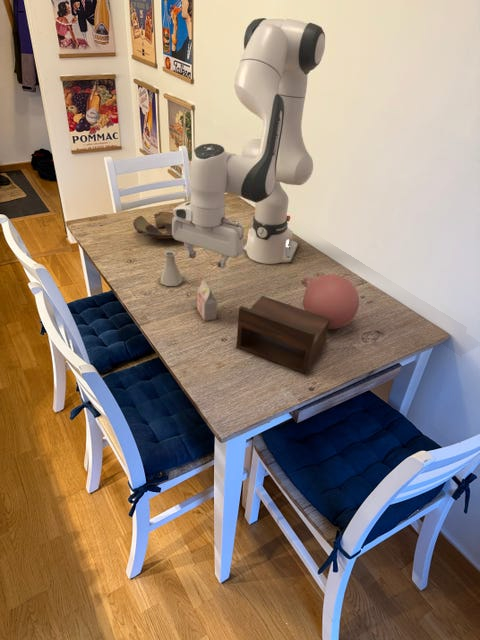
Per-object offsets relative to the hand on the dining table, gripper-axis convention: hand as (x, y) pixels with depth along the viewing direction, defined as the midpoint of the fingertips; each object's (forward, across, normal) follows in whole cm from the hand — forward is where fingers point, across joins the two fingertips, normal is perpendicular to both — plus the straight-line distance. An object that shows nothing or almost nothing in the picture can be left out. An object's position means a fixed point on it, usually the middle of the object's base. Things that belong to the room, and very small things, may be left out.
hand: (206, 262), depth 118 cm
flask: (+17, +19, -9) cm, 27 cm away
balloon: (+17, -30, -16) cm, 38 cm away
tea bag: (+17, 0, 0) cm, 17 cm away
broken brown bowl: (+17, +40, -38) cm, 58 cm away
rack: (+17, -25, +2) cm, 30 cm away
